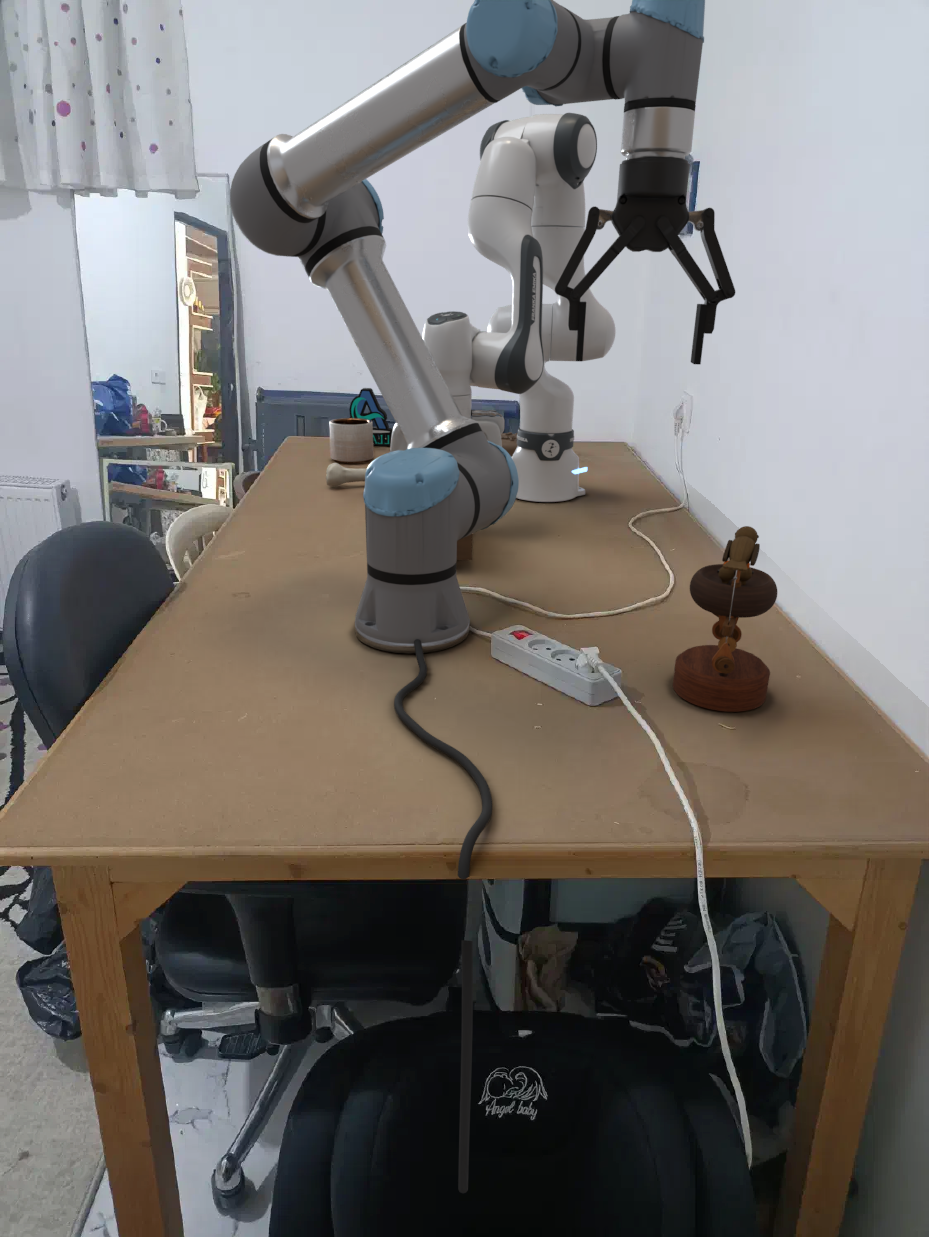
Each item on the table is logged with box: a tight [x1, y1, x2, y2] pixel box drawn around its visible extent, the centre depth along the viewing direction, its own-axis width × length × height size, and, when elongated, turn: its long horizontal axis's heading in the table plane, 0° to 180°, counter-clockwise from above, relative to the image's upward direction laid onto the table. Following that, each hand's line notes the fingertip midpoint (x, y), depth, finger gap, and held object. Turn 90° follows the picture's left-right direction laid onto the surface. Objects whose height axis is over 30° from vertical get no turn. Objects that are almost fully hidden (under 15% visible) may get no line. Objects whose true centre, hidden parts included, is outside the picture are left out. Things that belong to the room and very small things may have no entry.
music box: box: [672, 525, 778, 713], centre depth 95 cm, size 15×11×20 cm
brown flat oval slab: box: [501, 431, 518, 457], centre depth 221 cm, size 21×28×4 cm
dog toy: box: [325, 462, 367, 487], centre depth 188 cm, size 20×6×5 cm, turn 99°
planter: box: [328, 417, 375, 464], centre depth 212 cm, size 11×11×10 cm
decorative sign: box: [348, 387, 393, 447], centre depth 230 cm, size 19×2×15 cm, turn 86°
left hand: (636, 362), depth 100 cm, fingers open, 13 cm apart
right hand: (445, 487), depth 154 cm, fingers closed on box, 6 cm apart
